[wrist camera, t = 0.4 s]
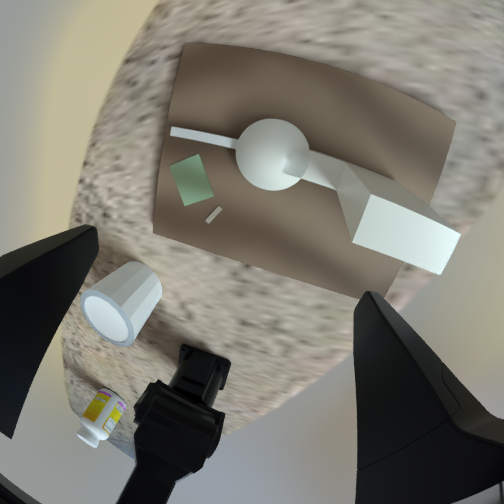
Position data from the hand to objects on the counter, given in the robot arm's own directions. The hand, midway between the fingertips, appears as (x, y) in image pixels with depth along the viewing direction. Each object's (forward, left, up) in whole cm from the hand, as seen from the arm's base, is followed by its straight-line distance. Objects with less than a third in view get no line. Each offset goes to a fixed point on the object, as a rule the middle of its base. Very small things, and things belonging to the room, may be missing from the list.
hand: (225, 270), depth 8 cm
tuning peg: (+2, +1, -13) cm, 13 cm away
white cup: (-15, +12, -15) cm, 24 cm away
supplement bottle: (-50, +21, -15) cm, 56 cm away
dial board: (+1, -1, -14) cm, 14 cm away
